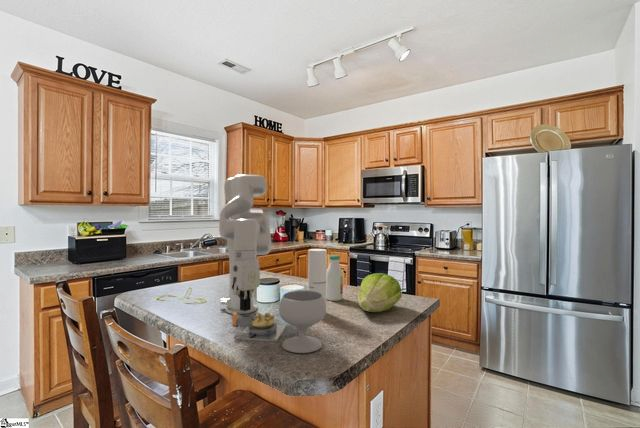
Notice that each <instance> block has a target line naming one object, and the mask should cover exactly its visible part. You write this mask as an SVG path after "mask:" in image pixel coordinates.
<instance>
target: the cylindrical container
mask: <svg viewBox="0 0 640 428" xmlns="http://www.w3.org/2000/svg"><path fill="white" fill-rule="evenodd" d="M307 252H308V254H307V255H308V260H307V261H308V262H307V264H308V267H307V268H308V269H307V270H308V271H307V273H308V274H307V283H308V284H307V291H314V292H318V293H320V294H322V296H323V298H324V301H325V304H326V305H327V299H326V272H327V252H328V251H327V249H325V248H311V249H310V248H309V249H308V250H307Z"/></svg>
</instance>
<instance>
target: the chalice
mask: <svg viewBox="0 0 640 428" xmlns="http://www.w3.org/2000/svg"><path fill="white" fill-rule="evenodd" d="M278 310H279V311H278V313H279V314H278V315H279V316H280V318H281V320H283V321H284V322H285V323H287V324H289V325H291V326H293V327H295V328H296V329H297V330H298V332H299V335H298V336H292V337H288V338H287V339H285V340H284V341H283V342H282V344H281V346H282V348H283V349H284V350H285V351H287V352H291V353H295V354H296V353H297V354H307V353H312V352H316V351H318V350H320V349H321V348H322V347H323V345H324V343H323V341H322V340H320V339H319V338H318V337H315V336H310V335H307V330H308V329H309V328H310V327H312V326H314V325H316V324H318V323H320V322H321V321H322V320H323V319H324V318H325V316H326V314H327V303H326V304H325V301H324V298H323V296H322V294H320V293H318V292H314V291H308V290H293V291H292V290H291V291H288V292H286V293H284V294H283V295H282V297H281V298H280V302H279V308H278Z"/></svg>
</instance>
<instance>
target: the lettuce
mask: <svg viewBox="0 0 640 428" xmlns="http://www.w3.org/2000/svg"><path fill="white" fill-rule="evenodd" d="M401 298H402V288H401V284H400V282H399V281H398V280H397V279H396V278H395V277H394V276H391V275H389V274H386V273H384V272H383V273H382V272H381V273H380V272H378V273H377V272H375V273H371V274H369V275H366V276H365V277H364V278H363V279H362V281H361V283H360V287H359V292H358V296H357V303H358V306H359V307H360V308H361V309H362V310H363V311H366V312H370V313H381V312H384V311H389V310H390V309H391V308H392V307H393V306H394V305H396V304H397V303H398V302H399V301H400V300H401Z"/></svg>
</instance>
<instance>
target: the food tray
mask: <svg viewBox="0 0 640 428" xmlns="http://www.w3.org/2000/svg"><path fill="white" fill-rule="evenodd" d="M231 317H232V318H231V319H232V322H231V325H232V327H233V328H240V327H247V326H251V327H253V328H256V329H266V328H270V327H272V326H274V323H275V314H271V313H270V312H265V314H262V313H261V312H256V313H255V315H251V314H249V315H248V314H247V315H240V314H239V313H233V314H231Z"/></svg>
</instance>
